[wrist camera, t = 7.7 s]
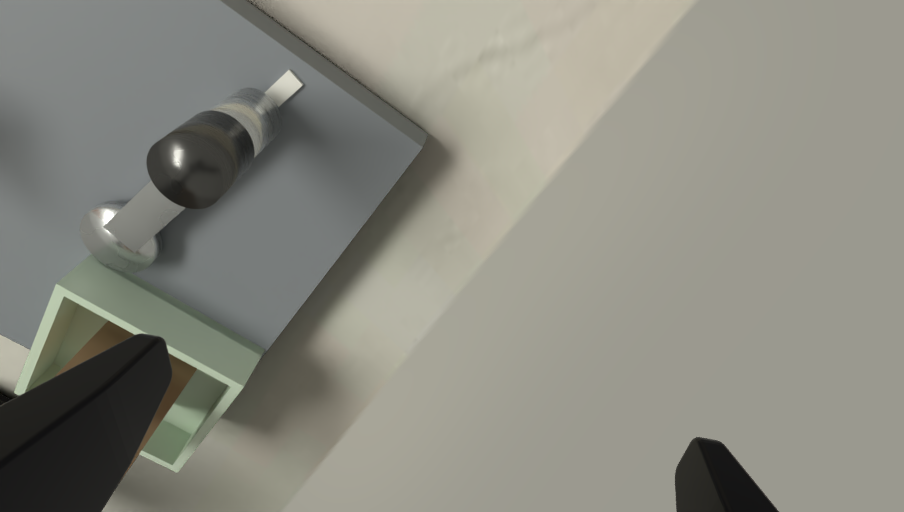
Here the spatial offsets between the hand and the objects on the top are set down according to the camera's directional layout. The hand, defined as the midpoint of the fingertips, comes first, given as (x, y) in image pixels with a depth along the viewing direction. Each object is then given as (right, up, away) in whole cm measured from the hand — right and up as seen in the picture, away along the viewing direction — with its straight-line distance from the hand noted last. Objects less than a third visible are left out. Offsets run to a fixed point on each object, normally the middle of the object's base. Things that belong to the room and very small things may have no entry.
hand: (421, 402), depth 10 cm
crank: (-9, +5, +11) cm, 15 cm away
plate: (-13, +5, +13) cm, 19 cm away
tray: (-13, -2, +16) cm, 21 cm away
